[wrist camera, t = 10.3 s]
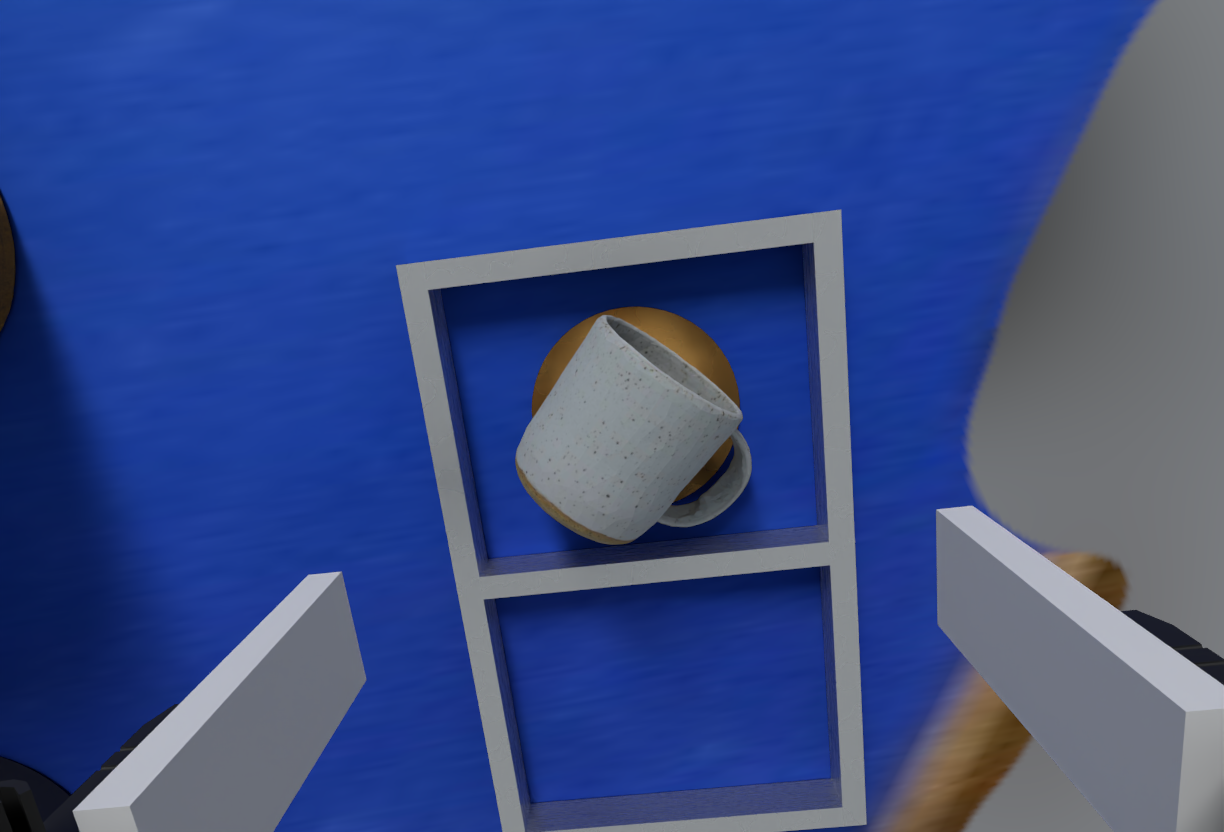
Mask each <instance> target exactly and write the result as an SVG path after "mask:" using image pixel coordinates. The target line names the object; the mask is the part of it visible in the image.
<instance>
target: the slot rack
mask: <svg viewBox="0 0 1224 832" xmlns="http://www.w3.org/2000/svg"><path fill="white" fill-rule="evenodd" d="M797 244H802V252H803V271H804V289H805V307H806V325H807V344H808V362H809V380H810V398H811V417H812V435H813V453H814V472H815V490H816V508H817V526H808V527H798V528H788V529H778V530H768V531H759V532H749V533H739V534H729V535H719V536H710V537H700V538H690V539H680V540H670V541H661V542H651V543H641V544H631V545H621V546H612V547H602V548H592V549H582V550H572V551H563V552H553V553H543V554H533V555H523V556H513V557H504V558H494V559H488V557H487V551H486V546H485V540H484V534H483V529H482V523H481V517H480V512H479V506H478V500H477V494H476V489H475V483H474V477H473V472H472V466H471V460H470V455H469V449H468V443H467V437H466V432H465V426H464V420H463V415H462V409H461V403H460V397H459V392H458V386H457V380H456V375H455V369H454V363H453V358H452V352H451V346H450V340H449V335H448V329H447V323H446V318H445V312H444V306H443V301H442V295H441V289H440V288H448V287H456V286H464V285H472V284H480V283H488V282H496V281H505V280H513V279H521V278H529V277H537V276H545V275H553V274H561V273H570V272H578V271H586V270H594V269H602V268H610V267H618V266H626V265H635V264H643V263H651V262H659V261H667V260H675V259H683V258H691V257H700V256H708V255H716V254H724V253H732V252H740V251H748V250H756V249H765V248H773V247H781V246H789V245H797ZM396 268H397V274H398V279H399V284H400V290H401V295H402V300H403V305H404V311H405V316H406V321H407V327H408V332H409V337H410V343H411V348H412V353H413V358H414V364H415V369H416V374H417V380H418V385H419V390H420V396H421V401H422V406H423V412H424V417H425V422H426V427H427V433H428V438H429V443H430V449H431V454H432V459H433V465H434V470H435V475H436V480H437V486H438V491H439V496H440V502H441V507H442V512H443V518H444V523H445V528H446V533H447V539H448V544H449V549H450V555H451V560H452V565H453V571H454V576H455V581H456V587H457V592H458V597H459V602H460V608H461V613H462V618H463V624H464V629H465V634H466V640H467V645H468V650H469V655H470V661H471V666H472V671H473V677H474V682H475V687H476V693H477V698H478V703H479V708H480V714H481V719H482V724H483V730H484V735H485V740H486V746H487V751H488V756H489V761H490V767H491V772H492V777H493V783H494V788H495V793H496V799H497V804H498V809H499V815H500V820H501V825H502V830H503V832H781V831H793V830H806V829H818V828H831V827H844V826H856V825H867V824H866V800H865V776H864V752H863V728H862V704H861V679H860V655H859V631H858V607H857V583H856V559H855V535H854V511H853V487H852V463H851V439H850V415H849V391H848V367H847V343H846V318H845V294H844V270H843V246H842V222H841V210H835V211H827V212H819V213H811V214H803V215H795V216H787V217H779V218H771V219H763V220H755V221H747V222H739V223H731V224H723V225H715V226H707V227H699V228H691V229H683V230H675V231H667V232H659V233H651V234H643V235H635V236H627V237H619V238H611V239H603V240H595V241H587V242H579V243H571V244H563V245H555V246H547V247H539V248H531V249H523V250H515V251H507V252H499V253H491V254H483V255H475V256H467V257H459V258H451V259H443V260H435V261H427V262H420V263H412V264H404V265H396ZM602 315H612V316H613V317H616V318H620V319H622V320H624V321H625V322H627V323H630V324H632V325H633V326H635V327H636V328H638V329H640V330H641V331H643V332H645V333H647V334H648V335H649V336H651V337H653V338H655V339H656V340H657V341H659V342H660V343H662V344H663V345H664V346H666V347H667V348H669V349H670V350H672V351H673V352H675V353H676V354H678V355H679V356H680V357H681V358H682V359H683V360H685V361H686V362H687V363H689V364H690V365H692V366H693V367H695V368H696V369H697V370H699V371H700V372H701V373H702V374H703V375H705V376H706V377H707V378H708V379H709V380H710V381H711V382H713V383H714V384H715V385H716V386H717V387H718V388H719V389H721V390H722V391H723V392H724V393H725V394H726V395H727V396H728V397H729V398H730V399H731V400H732V401H733V402H734V403H735V404H736V405H737V407H738V408H739V409H740V400H739V393H738V387H737V383H736V380H735V376H734V373H733V371H732V369H731V366H730V364H729V362H728V360H727V359H726V357H725V355H724V354H723V352H722V351H721V349H720V348H719V347H718V346H717V344H716V343H715V342H714V341H713V339H711V338H710V337H709V336H708V335H707V334H706V333H705V332H704V331H703V330H702V329H700V328H699V327H697V326H696V325H695V324H693V323H692V322H690V321H688V320H686V319H684V318H683V317H681V316H679V315H676V314H673V313H671V312H668V311H665V310H660V309H656V308H650V307H622V308H617V309H611V310H608V311H605V312H602V313H599V314H596V315H594V316H592V317H590V318H588V319H585V320H584V321H582V322H580V323H579V324H577V325H576V326H574V327H573V328H572V329H570V330H569V331H568V332H567V333H566V334H565V335H564V336H562V337H561V339H560V340H559V341H558V342H557V343H556V344H555V345H554V347H553V348H552V349H551V351H550V352H549V354H548V355H547V357H546V358H545V360H544V362H543V364H542V366H541V368H540V370H539V373H538V376H537V379H536V382H535V386H534V392H533V398H532V417H534V416H535V414H536V413H537V411H538V410H539V408H540V407H541V405H542V404H543V402H544V401H545V399H546V398H547V396H548V395H549V393H550V392H551V390H552V389H553V387H554V386H555V384H556V382H557V381H558V379H559V377H560V376H561V374H562V373H563V371H564V370H565V368H566V366H567V365H568V363H569V362H570V360H571V359H572V357H573V356H574V354H575V353H576V351H577V350H578V348H579V347H580V345H581V344H582V342H583V341H584V339H585V338H586V336H587V335H588V333H589V331H590V329H591V328H592V326H593V325H594V323H595V322H596V320H597V319H598V318H599V317H601V316H602ZM737 429H738V426H737ZM732 445H733V441H732V439H731V437H730V436H729V438H728V439H727V440H726V441H725V442H724V443H723V444H722V445H721V446H720V447H719V449H718V450H717V451H716V452H715V453H714V454H713V456H712V457H711V458H710V459H709V460H708V462H707V463H706V464H705V465H704V466H703V467H702V468H701V469H700V471H699V472H698V473H697V474H696V475H695V476H694V477H693V478H692V480H691V481H690V482H689V483H688V484H687V485H686V486H685V487H684V489H683V490H682V491H681V492H680V493H679V495H678V496H677V497H676V499H675V500H674V501H673V502H676V501H678V500H680V499H682V498H685V497H686V496H688V495H690V494H691V493H693V492H695V491H696V490H697V489H699V488H700V487H701V486H703V485H704V484H705V483H706V482H707V481H708V480H709V479H710V478H711V477H712V476H713V475H714V474H715V473H716V472H717V470H718V469H719V468H720V466H721V465H722V464H723V462H724V461H725V459H726V457H727V455H728V454H729V452H730V450H731V447H732ZM817 566H820V581H821V599H822V618H823V636H824V654H825V673H826V691H827V709H828V727H829V746H830V764H831V779H821V780H809V781H797V782H785V783H773V784H761V785H749V786H736V787H724V788H712V789H700V790H688V791H676V792H664V793H652V794H640V795H628V796H616V797H604V798H592V799H580V800H568V801H556V802H544V803H532V804H531V802H530V797H529V791H528V785H527V780H526V774H525V768H524V763H523V757H522V751H521V745H520V740H519V734H518V728H517V723H516V717H515V711H514V706H513V700H512V694H511V688H510V683H509V677H508V671H507V666H506V660H505V654H504V648H503V643H502V637H501V631H500V626H499V620H498V614H497V609H496V603H495V598H504V597H514V596H524V595H534V594H544V593H554V592H565V591H575V590H585V589H595V588H605V587H615V586H625V585H635V584H645V583H656V582H666V581H676V580H686V579H696V578H706V577H716V576H726V575H736V574H747V573H757V572H767V571H777V570H787V569H797V568H807V567H817Z"/></svg>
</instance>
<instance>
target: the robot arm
mask: <svg viewBox="0 0 1224 832" xmlns="http://www.w3.org/2000/svg"><path fill="white" fill-rule="evenodd" d="M936 535H937V615H938V626H939V627H940V628H941V629H942V630H943V632H944V633H945V634H946V635H947V636H948V637H949V639H950V640H951V641H952V642H953V643H954V644H955V646H956V647H957V648H958V649H959V650H960V651H961V653H962V654H963V655H964V656H965V657H966V659H967V660H968V661H969V662H970V663H971V664H972V666H973V667H974V668H975V669H976V670H977V671H978V673H979V674H980V675H981V676H982V677H983V679H984V680H985V681H986V682H987V683H988V684H989V686H990V687H991V688H992V689H993V690H994V691H995V693H996V694H997V695H998V696H999V697H1000V698H1001V700H1002V701H1003V702H1004V703H1005V704H1006V706H1007V707H1008V708H1009V709H1010V710H1011V711H1012V713H1013V714H1014V715H1015V716H1016V717H1017V718H1018V720H1019V721H1020V722H1021V723H1022V724H1023V725H1024V727H1025V728H1026V729H1027V730H1028V731H1029V733H1030V734H1031V735H1032V736H1033V737H1034V738H1035V740H1036V741H1037V742H1038V743H1039V744H1040V745H1041V747H1042V748H1043V749H1044V750H1045V751H1046V752H1047V753H1048V755H1049V756H1050V757H1051V758H1052V759H1053V761H1054V762H1055V763H1056V764H1057V765H1058V767H1059V768H1060V769H1061V770H1062V771H1063V772H1064V773H1065V775H1066V776H1067V777H1068V778H1069V779H1070V781H1071V782H1072V783H1073V784H1074V785H1075V786H1076V788H1077V789H1078V790H1079V791H1080V792H1081V793H1082V795H1083V796H1084V797H1085V798H1086V799H1087V800H1088V802H1089V803H1090V804H1091V805H1092V806H1093V808H1094V809H1095V810H1096V811H1097V812H1098V813H1099V815H1100V816H1101V817H1102V818H1103V819H1104V820H1105V822H1106V823H1107V824H1108V825H1109V826H1110V828H1111V829H1112V830H1113V831H1114V832H1224V659H1223V658H1221V657H1220V656H1218V655H1217V654H1215V653H1214V652H1212V651H1211V650H1209V649H1208V648H1202V645H1201V644H1200V643H1199V642H1197V641H1196V640H1194V639H1193V638H1191V637H1190V636H1189V635H1187V634H1185V633H1184V632H1182V631H1181V630H1180V629H1178V628H1177V627H1175V626H1174V625H1172V624H1169V623H1167V622H1164V621H1162V620H1159V619H1157V618H1154V617H1152V616H1150V615H1147V614H1145V613H1142V612H1140V611H1137V610H1130V611H1119V610H1118V609H1116V608H1115V607H1113V606H1112V605H1111V604H1109V603H1108V602H1106V601H1105V600H1104V599H1102V598H1101V597H1099V596H1098V595H1097V594H1095V593H1094V592H1092V591H1091V590H1090V589H1088V588H1087V587H1085V586H1084V585H1083V584H1081V583H1080V582H1078V581H1077V580H1076V579H1074V578H1073V577H1071V576H1070V575H1069V574H1067V573H1066V572H1064V571H1063V570H1062V569H1060V568H1059V567H1057V566H1056V565H1055V564H1053V563H1052V562H1050V561H1049V560H1048V559H1046V558H1045V557H1043V556H1042V555H1041V554H1039V553H1038V552H1036V551H1035V550H1034V549H1032V548H1031V547H1029V546H1028V545H1027V544H1025V543H1024V542H1022V541H1021V540H1020V539H1018V538H1017V537H1015V536H1014V535H1013V534H1011V533H1010V532H1008V531H1007V530H1006V529H1004V528H1003V527H1001V526H1000V525H999V524H997V523H996V522H994V521H993V520H992V519H990V518H989V517H987V516H986V515H985V514H983V513H982V512H980V511H979V510H978V509H976V508H975V507H973V506H966V507H956V508H946V509H937V510H936ZM365 681H366V676H365V672H364V667H363V663H362V659H361V654H360V650H359V645H358V641H357V637H356V632H355V628H354V624H353V619H352V615H351V610H350V606H349V602H348V597H347V593H346V589H345V584H344V580H343V576H342V572H333V573H323V574H313V575H308V576H307V577H306V578H305V579H304V580H303V581H302V582H301V583H300V584H299V585H298V586H297V587H296V588H295V589H294V590H293V591H292V592H291V593H290V594H289V595H288V596H287V597H286V598H285V599H284V600H283V601H282V602H281V603H280V604H279V605H278V606H277V607H276V608H275V609H274V610H273V611H272V612H271V613H270V614H269V615H268V616H267V617H266V618H265V619H264V620H263V621H262V622H261V623H260V624H259V625H258V626H257V627H256V628H255V629H254V630H253V631H252V632H251V633H250V634H249V635H248V636H247V637H246V638H245V639H244V640H243V641H242V642H241V643H240V644H239V645H238V646H237V647H236V648H235V649H234V650H233V651H232V652H231V653H230V654H229V655H228V656H227V657H226V658H225V659H224V660H223V661H222V662H221V663H220V664H219V665H218V666H217V667H216V668H215V669H214V670H213V671H212V672H211V673H210V674H209V675H208V676H207V677H206V678H205V679H204V680H203V681H202V682H201V683H200V684H199V685H198V686H197V687H196V688H195V689H194V690H193V691H192V692H191V693H190V694H189V695H188V696H187V697H186V698H185V699H184V700H183V701H182V702H181V703H180V704H175V705H173V706H172V707H170V708H169V709H167V710H166V711H164V712H163V713H161V714H160V715H158V716H157V717H155V718H154V719H152V720H151V721H149V722H147V723H146V724H144V725H143V726H142V727H141V728H140V729H139V730H138V731H137V732H136V733H135V734H134V735H133V736H132V737H131V738H130V739H129V740H128V741H127V742H126V743H125V744H124V745H123V746H122V747H120V748H121V750H120V752H115V753H114V754H113V755H112V756H111V757H110V758H109V759H108V760H107V761H106V762H105V763H104V764H103V765H102V766H101V770H100V771H96V772H95V773H94V774H93V775H92V776H91V777H90V778H89V779H87V780H86V781H85V782H84V783H83V784H82V785H81V786H80V787H79V788H78V789H77V790H76V791H75V792H74V793H73V794H72V795H71V796H69V795H68V794H67V793H66V792H64V791H63V790H62V789H61V788H59V787H58V786H57V785H56V784H54V783H53V782H51V781H50V780H48V779H47V778H45V777H44V776H42V775H40V774H39V773H37V772H35V771H33V770H31V769H29V768H27V767H25V766H23V765H21V764H18V763H16V762H13V761H11V760H8V759H5V758H2V757H0V832H273V831H274V830H275V828H276V826H277V825H278V823H279V821H280V820H281V818H282V817H283V815H284V813H285V812H286V810H287V808H288V807H289V805H290V803H291V802H292V800H293V799H294V797H295V795H296V794H297V792H298V790H299V789H300V787H301V786H302V784H303V782H304V781H305V779H306V777H307V776H308V774H309V773H310V771H311V769H312V768H313V766H314V764H315V763H316V761H317V759H318V758H319V756H320V755H321V753H322V751H323V750H324V748H325V746H326V745H327V743H328V742H329V740H330V738H331V737H332V735H333V733H334V732H335V730H336V728H337V727H338V725H339V724H340V722H341V720H342V719H343V717H344V715H345V714H346V712H347V711H348V709H349V707H350V706H351V704H352V702H353V701H354V699H355V698H356V696H357V694H358V693H359V691H360V689H361V688H362V686H363V684H364V683H365Z"/></svg>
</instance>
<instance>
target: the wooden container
mask: <svg viewBox="0 0 1224 832" xmlns="http://www.w3.org/2000/svg"><path fill="white" fill-rule="evenodd" d="M14 284H15V249H14V242H13V238H12V232H11V227H10V224H9V220H8V216H7V213H6V210H5V208H4V204H3V201H2V199H1V197H0V332H1V330H2V328H3V326H4V323H5V321H6V319H7V316H8V314H9V312H10V308H11V303H12V299H13V294H14Z"/></svg>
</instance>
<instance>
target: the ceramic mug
mask: <svg viewBox="0 0 1224 832" xmlns="http://www.w3.org/2000/svg"><path fill="white" fill-rule="evenodd" d="M742 419H743V416H742V412H741V410H740V409H739V408H738V407H737V405H736V404H735V403H734V402H733V401H732V400H731V399H730V398H729V397H728V396H727V395H726V394H725V393H724V392H723V391H722V390H721V389H719V388H718V387H717V386H716V385H715V384H714V383H713V382H711V381H710V380H709V379H708V378H707V377H706V376H705V375H703V374H702V373H701V372H700V371H699V370H697V369H696V368H695V367H693V366H692V365H690V364H689V363H687V362H686V361H685V360H683V359H682V358H681V357H680V356H679V355H678V354H676V353H675V352H673V351H672V350H670V349H669V348H667V347H666V346H664V345H663V344H662V343H660V342H659V341H657V340H656V339H655V338H653V337H651V336H649V335H648V334H647V333H645V332H643V331H641V330H640V329H638V328H636V327H635V326H633V325H632V324H630V323H627V322H625V321H624V320H622V319H620V318H616V317H613V316H612V315H602V316H601V317H599V318H598V319H597V320H596V322H595V323H594V325H593V326H592V328H591V329H590V331H589V333H588V335H587V336H586V338H585V339H584V341H583V342H582V344H581V345H580V347H579V348H578V350H577V351H576V353H575V354H574V356H573V357H572V359H571V360H570V362H569V363H568V365H567V366H566V368H565V370H564V371H563V373H562V374H561V376H560V377H559V379H558V381H557V382H556V384H555V386H554V387H553V389H552V390H551V392H550V393H549V395H548V396H547V398H546V399H545V401H544V402H543V404H542V405H541V407H540V408H539V410H538V411H537V413H536V414H535V416H534V417H533V419H532V420H531V422H530V423H529V425H528V426H527V428H526V430H525V433H524V435H523V438H522V440H521V442H520V444H519V446H518V448H517V452H516V459H515V462H516V468H517V473H518V476H519V478H520V480H521V482H522V484H523V486H524V488H525V489H526V491H527V492H528V494H529V495H530V496H531V497H532V498H533V499H534V501H535V502H536V503H537V504H538V505H539V506H540V507H541V508H542V509H543V510H544V511H545V512H546V513H548V514H549V515H550V516H551V517H553V518H554V519H555V520H556V521H558V522H559V523H561V524H562V525H564V526H565V527H567V528H568V529H570V530H572V531H574V532H575V533H577V534H579V535H581V536H583V537H586V538H588V539H591V540H593V541H596V542H599V543H603V544H610V545H617V544H627V543H630V542H632V541H634V540H635V539H637V538H638V537H639V536H641V535H642V534H643V533H644V532H646V531H647V530H648V529H649V528H650V527H652V526H653V525H654V524H655V523H656V522H659V523H661V524H666V525H669V526H673V527H691V526H695V525H698V524H702V523H704V522H706V521H709V520H711V519H713V518H715V517H716V516H718V515H719V514H721V513H722V512H723V511H724V510H726V509H727V508H728V507H729V506H730V505H731V504H732V503H733V502H734V501H735V500H736V499H737V498H738V497H739V495H740V494H741V493H742V492H743V490H744V488H745V487H746V485H747V483H748V481H749V478H750V475H751V469H752V466H751V455H750V449H749V447H748V445H747V443H746V441H745V439H744V437H743V436H742V434H741V433H740V432H739V431H738V430H737V426H738V425H739V424H740V422H741V421H742ZM729 436H730V437H731V439H732V441H733V445H734V457H733V460H732V461H731V463H730V467H729V468H728V469H727V471H726V472H725V473H724V474H723V475H722V476H721V477H720V479H719V480H718V481H717V482H716V483H715V484H714V485H713V486H712V487H711V488H710V489H709V490H708V491H707V492H705V493H703V494H702V495H701V496H700V497H699V499H698V500H697V501H694V502H692V503H689V504H684V505H678V506H672V505H671V504H672V503H673V501H674V500H675V499H676V497H677V496H678V495H679V493H680V492H681V491H682V490H683V489H684V487H685V486H686V485H687V484H688V483H689V482H690V481H691V480H692V478H693V477H694V476H695V475H696V474H697V473H698V472H699V471H700V469H701V468H702V467H703V466H704V465H705V464H706V463H707V462H708V460H709V459H710V458H711V457H712V456H713V454H714V453H715V452H716V451H717V450H718V449H719V447H720V446H721V445H722V444H723V443H724V442H725V441H726V440H727V439H728V438H729Z"/></svg>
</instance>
